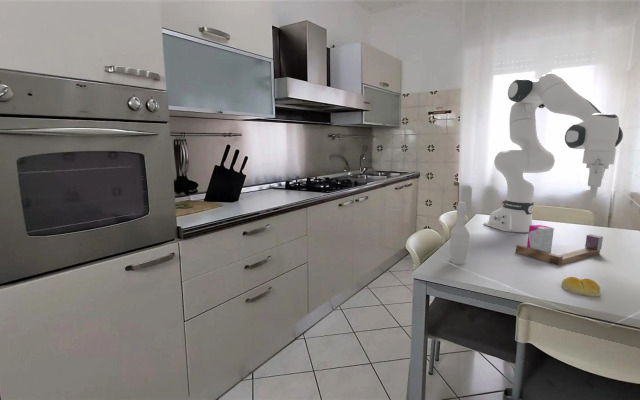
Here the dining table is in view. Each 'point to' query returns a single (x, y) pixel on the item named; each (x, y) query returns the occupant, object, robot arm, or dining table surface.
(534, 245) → the supplement box
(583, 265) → the dining table surface
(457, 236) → the faceted bottle
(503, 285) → the dining table surface
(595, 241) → the l-shaped wooden bracket
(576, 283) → the bread roll
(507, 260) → the dining table surface
